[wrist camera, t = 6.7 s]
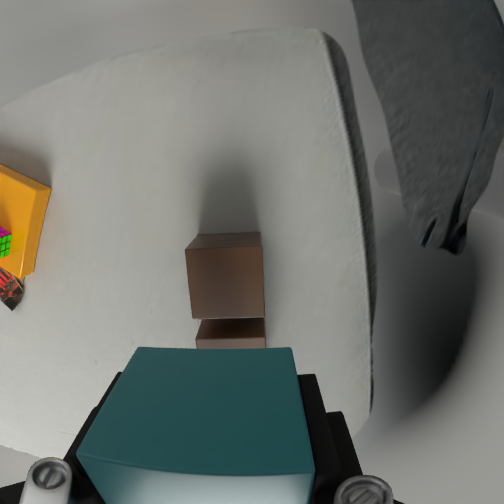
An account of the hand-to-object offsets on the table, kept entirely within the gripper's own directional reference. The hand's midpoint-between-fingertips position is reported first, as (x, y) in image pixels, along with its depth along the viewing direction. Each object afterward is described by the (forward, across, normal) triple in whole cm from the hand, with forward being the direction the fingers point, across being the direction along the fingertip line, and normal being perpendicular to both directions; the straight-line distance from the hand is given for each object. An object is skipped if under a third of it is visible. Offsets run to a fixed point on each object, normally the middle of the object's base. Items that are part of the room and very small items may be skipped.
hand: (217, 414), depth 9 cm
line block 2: (+15, 0, +5) cm, 16 cm away
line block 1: (+15, 0, -1) cm, 15 cm away
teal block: (0, 0, 0) cm, 0 cm away
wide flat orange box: (+16, +20, -5) cm, 26 cm away
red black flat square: (+15, +22, +1) cm, 27 cm away
